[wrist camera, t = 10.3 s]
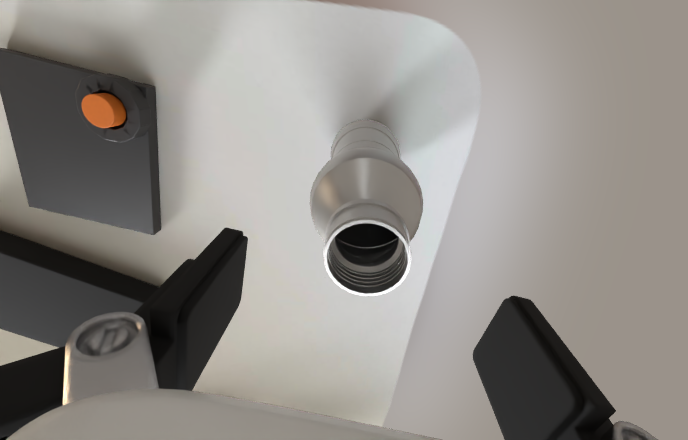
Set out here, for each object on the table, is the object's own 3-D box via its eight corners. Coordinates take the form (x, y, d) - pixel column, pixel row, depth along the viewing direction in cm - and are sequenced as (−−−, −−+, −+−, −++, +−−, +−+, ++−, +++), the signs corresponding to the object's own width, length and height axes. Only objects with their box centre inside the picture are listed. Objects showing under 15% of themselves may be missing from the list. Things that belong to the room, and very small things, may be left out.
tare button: (93, 89, 27) (78, 90, 25) (125, 97, 27) (112, 98, 25) (97, 121, 28) (83, 123, 26) (128, 128, 28) (115, 131, 26)
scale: (4, 43, 28) (-35, 40, 25) (159, 83, 28) (137, 84, 26) (40, 201, 35) (13, 212, 32) (164, 230, 36) (147, 243, 33)
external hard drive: (153, 356, 45) (140, 374, 43) (-8, 303, 43) (-34, 319, 40) (168, 289, 39) (153, 305, 37) (-19, 222, 37) (-50, 234, 34)
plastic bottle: (346, 190, 32) (324, 336, 14) (323, 129, 29) (259, 211, 11) (405, 171, 31) (464, 305, 13) (386, 105, 28) (426, 156, 10)
